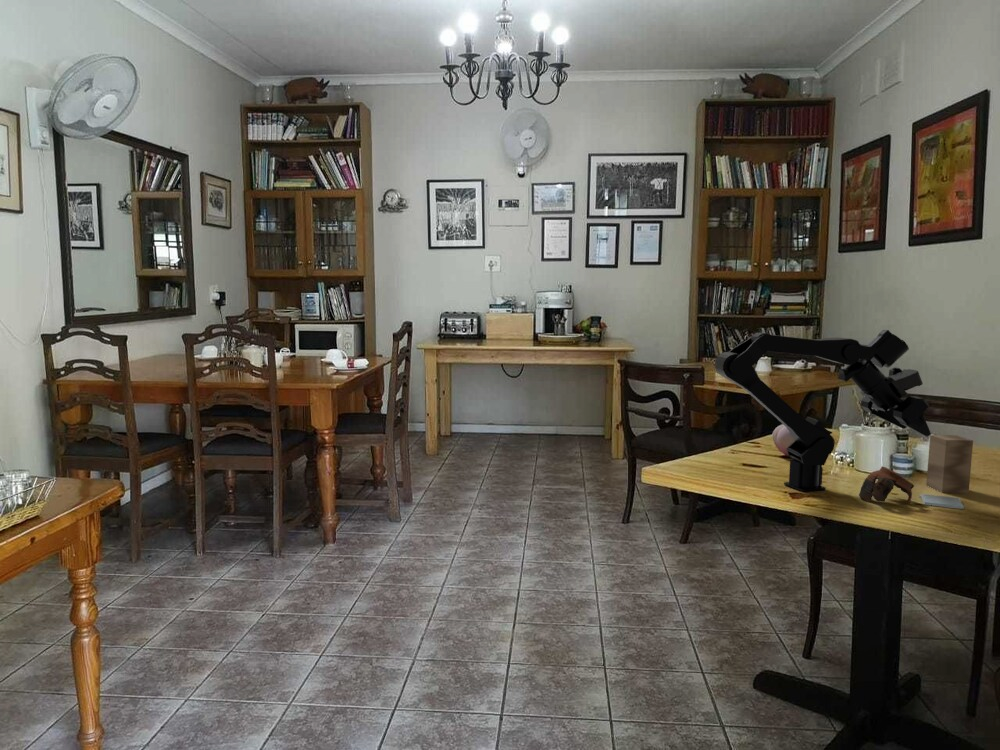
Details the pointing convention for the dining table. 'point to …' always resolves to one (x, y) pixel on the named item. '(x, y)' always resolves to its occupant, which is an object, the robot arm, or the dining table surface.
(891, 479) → the brown curved piece
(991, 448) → the dining table surface
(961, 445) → the walnut block
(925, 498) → the slate-blue tile
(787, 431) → the decorative fruit
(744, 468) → the dining table surface
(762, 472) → the dining table surface
